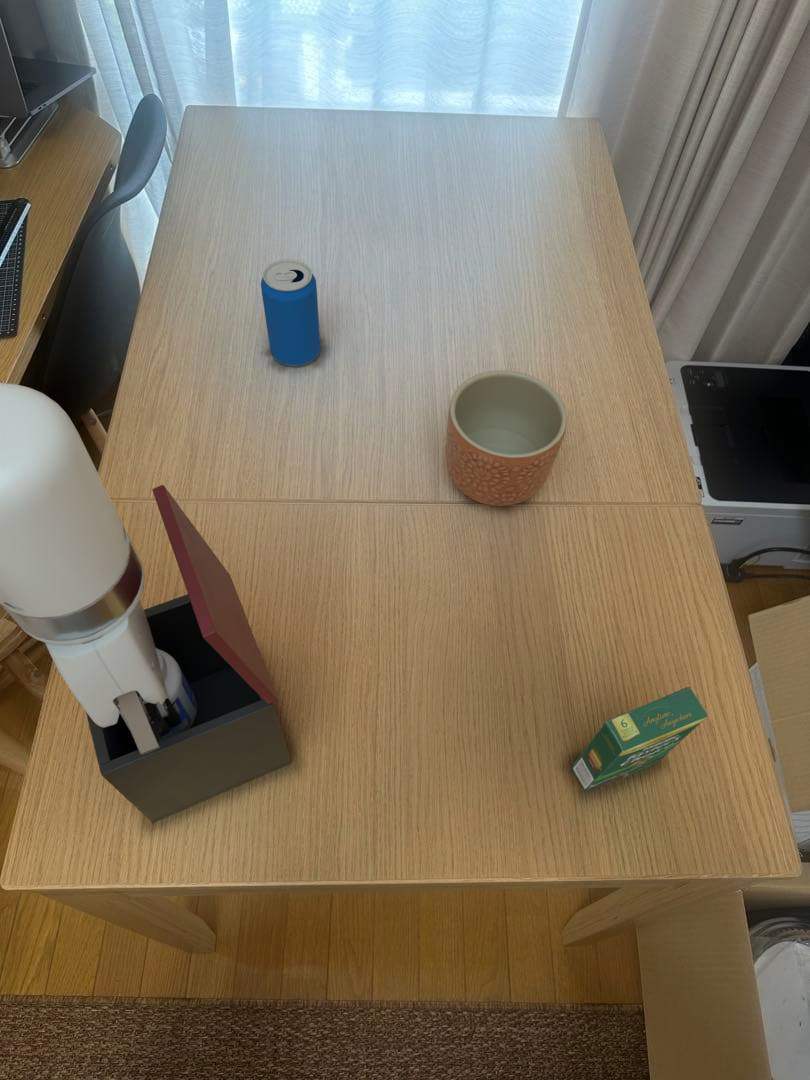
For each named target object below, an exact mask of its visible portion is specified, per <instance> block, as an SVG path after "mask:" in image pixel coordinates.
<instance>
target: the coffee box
mask: <svg viewBox="0 0 810 1080" xmlns="http://www.w3.org/2000/svg"><path fill="white" fill-rule="evenodd" d="M707 718H708V713H707V712H706V710H705V709H704V707H703V705H702V703H701V702H700V701H699V699H698V698H697V696H696V694H695V693H694V691H693V689H692V688H691V687H690V686H686V687H683V688H682V689H680V690H677V691H675V692H672V693H669V694H667V695H665V696H662V697H661V698H658V699H656V700H652V701H651V702H648V703H646V704H643V705H641V706H639V707H636V708H634V709H632V710H629V711H627V712H624V713H622V714H620V715H618V716H615V717H613V718H611V719H608V720H606V721H605V722H604V724H603V725H602V726H601V727H600V728H599V730H598V731H597V732H596V734H594V735H595V736H593V738H592V739H591V740H590V742H589V743H588V744H587V746H586V747H585V748H584V750H583V751H582V752H581V753H580V755H579V756H578V757H577V758H576V760H575V761H574V762H573V764H572V765H571V767H570V768H571V771H572V772H573V774H574V775H575V778H576V779H577V781H578V783H579V784H580V786H581V788H582V789H583V791H584V793H585V794H587V793H590V792H592V791H594V790H597V789H599V788H602V787H604V786H607V785H610V784H612V783H614V782H617V781H619V780H621V779H624V778H626V777H628V776H631V775H633V774H636V773H639V772H642V771H644V770H645V769H648V768H651V767H653V766H655V765H658V764H659V763H660V762H661V760H663V759H664V758H665V757H666V756H668V754H669V753H670V752H671V751H672V750H673V749H674V748H676V746H678V744H680V743H681V742H682V741H683V740H684V739H685V738H686V737H687V736H689V735H690V734H691V733H692V732H693V731H695V730H696V728H697V727H698V726H699V725H701V723H703V722H704V721H705V720H707Z"/></svg>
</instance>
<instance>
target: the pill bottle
mask: <svg viewBox="0 0 810 1080" xmlns="http://www.w3.org/2000/svg"><path fill="white" fill-rule="evenodd" d="M155 648H156V647H155ZM156 652H157V656H158V659H159V663H160V667H161V671H162V675H163V679H164V683H165V687H166V691H167V697H166V698H167V699H168V698H169V700H170V702H171V703H172V705H173V706H174V708H175V710H176V711H177V713H178V715H179V716H180V720H181V723H180V724H179V725H177V726H175V727H172V728H170V732H169V733H168V734H166V735H164V736H162V737H160V741H161V740H163V739H166V738H168V737H171V736H173V735H176V734H178V733H181V732H183V731H185V730H188V729H189V728H190V726H191V725H192V723H193V721H194V719H195V716H196V712H197V702H196V698H195V695H194V693H193V691H192V689H191V687H190V686H189V684H188V682H187V680H186V678H185V676H184V674H183V672H182V671H181V669H180V667H179V665H178V663H177V662H176V661H175V659H174V658H173V657H172V656H170V655H169V654H168V653H166V652H164V651H162V650H159V649H157V648H156ZM143 703H144V704H146V703H149V702H145V701H143Z"/></svg>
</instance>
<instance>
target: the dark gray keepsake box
mask: <svg viewBox="0 0 810 1080" xmlns="http://www.w3.org/2000/svg"><path fill="white" fill-rule="evenodd" d="M144 612H145V615H146V618H147V621H148V624H149V627H150V631H151V634H152V637H153V639H154V640H155V642H156V644H157V646H158V648H159V650H162V651H164V652H166V653H168V654H169V655H170V656H172V657H173V658H174V659H175V661H176V662H177V663H178V665H179V667H180V669H181V671H182V672H183V674H184V676H185V678H186V680H187V682H188V684H189V686H190V687H191V689H192V691H193V693H194V695H195V698H196V702H197V712H196V716H195V719H194V721H193V723H192V725H191V726H190V728H189V729H188V730H185V731H183V732H181V733H178V734H176V735H173V736H171V737H168V738H166V739H163V740H161V741H160V748H158V749H156V750H153V751H151V752H148V753H146V754H143V755H141V754H140V752H139V749H138V747H137V745H136V742H135V740H134V738H133V735H132V733H131V731H130V730H129V728H128V727H127V725H126V723H125V721H124V719H123V718H122V716H121V714H119V718H118V721H117V723H116V724H114V725H111V726H108V727H104V728H103V727H100V726H98V725H97V724H96V723H95V722H94V721H93V720H92V719H91V718H90V716H89V715H88V714H87V712H86V711H85V714H86V718H87V723H88V727H89V730H90V734H91V740H92V743H93V748H94V751H95V756H96V760H97V764H98V768H99V772H100V776H101V777H103V778H104V779H105V780H106V781H107V782H108V783H109V784H110V785H111V786H112V787H113V788H115V789H116V790H117V791H118V792H119V793H120V794H121V795H122V796H123V797H124V798H125V799H126V800H127V801H129V802H130V803H131V805H133V806H134V807H135V808H136V809H137V810H138V811H140V812H141V814H143V815H144V816H145V817H146V818H147V819H148V820H149V821H150V822H151V823H152V824H155V823H158V822H160V821H162V820H165V819H167V818H169V817H172V816H173V815H176V814H178V813H180V812H183V811H185V810H187V809H190V808H192V807H195V806H197V805H199V804H201V803H204V802H206V801H209V800H210V799H213V798H216V797H218V796H220V795H222V794H225V793H227V792H229V791H231V790H234V789H236V788H239V787H241V786H243V785H245V784H247V783H250V782H252V781H254V780H257V779H259V778H261V777H264V776H266V775H269V774H270V773H273V772H275V771H279V770H281V769H282V768H284V767H287V766H289V765H291V764H292V760H291V757H290V754H289V750H288V746H287V742H286V740H285V736H284V733H283V729H282V727H281V723H280V720H279V716H278V714H277V713H278V712H277V710H276V707H275V702H273V703H271V704H267V703H266V702H265V701H264V699H263V698H262V697H261V696H260V695H259V694H258V693H257V692H256V691H255V690H254V689H253V688H252V687H251V686H250V685H249V684H248V683H247V682H246V681H245V680H244V679H243V678H242V677H241V676H240V675H239V674H238V673H237V672H236V671H235V670H234V669H233V668H232V667H231V666H230V665H229V663H228V662H227V661H226V660H225V659H224V658H223V657H222V656H221V655H220V654H219V653H218V652H217V651H216V650H215V649H214V648H213V647H212V646H211V645H210V644H209V643H208V642H207V641H206V640H205V639H204V638H203V636H202V633H201V630H200V627H199V624H198V621H197V619H196V616H195V613H194V610H193V607H192V604H191V601H190V598H189V595H188V593H187V594H184V595H181V596H179V597H176V598H173V599H170V600H167V601H164V602H162V603H159V604H156V605H152V606H151V607H148V608H144Z"/></svg>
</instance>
